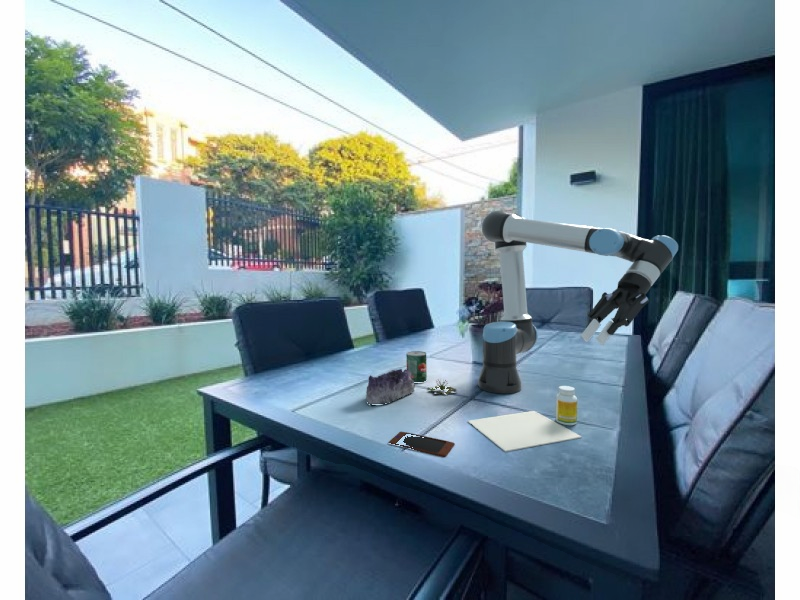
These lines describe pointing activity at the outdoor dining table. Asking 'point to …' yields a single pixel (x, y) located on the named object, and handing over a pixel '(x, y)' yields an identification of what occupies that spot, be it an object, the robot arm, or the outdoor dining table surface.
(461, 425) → the outdoor dining table surface
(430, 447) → the smartphone
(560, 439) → the mat
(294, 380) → the outdoor dining table surface
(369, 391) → the geode
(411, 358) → the canned tomato
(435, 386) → the lily flower
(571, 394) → the supplement bottle
